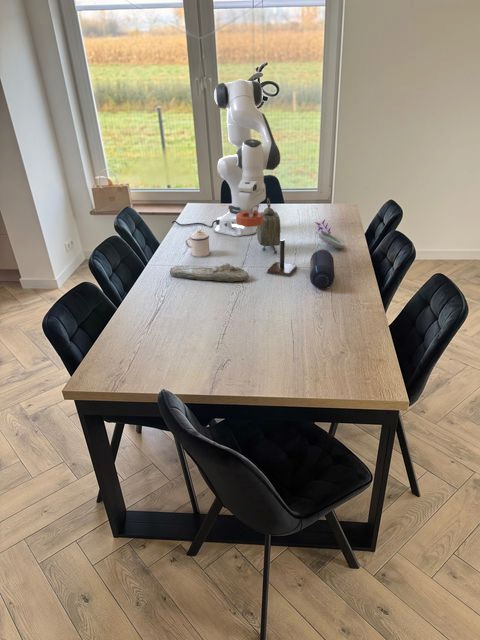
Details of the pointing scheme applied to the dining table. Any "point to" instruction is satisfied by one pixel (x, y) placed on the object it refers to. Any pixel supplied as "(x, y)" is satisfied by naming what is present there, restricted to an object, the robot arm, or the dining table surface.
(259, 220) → the ring
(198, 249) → the teacup with lid
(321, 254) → the portable speaker
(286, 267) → the stand
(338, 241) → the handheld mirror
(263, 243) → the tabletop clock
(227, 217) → the robot arm
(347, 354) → the dining table surface
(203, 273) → the long grey stone
